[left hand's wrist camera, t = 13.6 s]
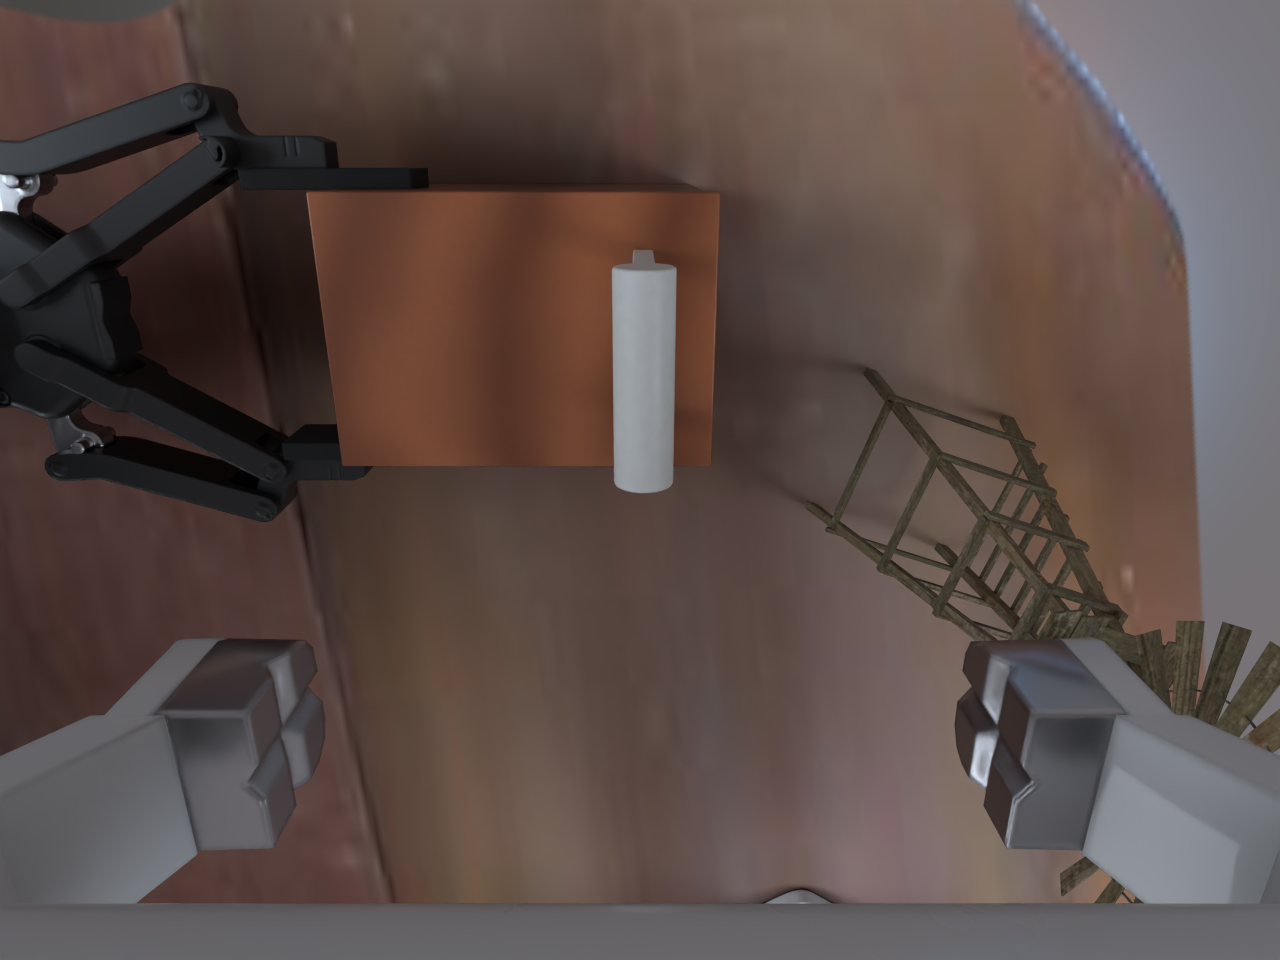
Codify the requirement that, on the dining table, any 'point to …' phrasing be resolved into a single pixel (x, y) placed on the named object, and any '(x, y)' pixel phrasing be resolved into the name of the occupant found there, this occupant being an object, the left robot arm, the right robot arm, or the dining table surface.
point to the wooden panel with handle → (521, 327)
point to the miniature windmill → (1060, 594)
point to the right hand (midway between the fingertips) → (432, 317)
